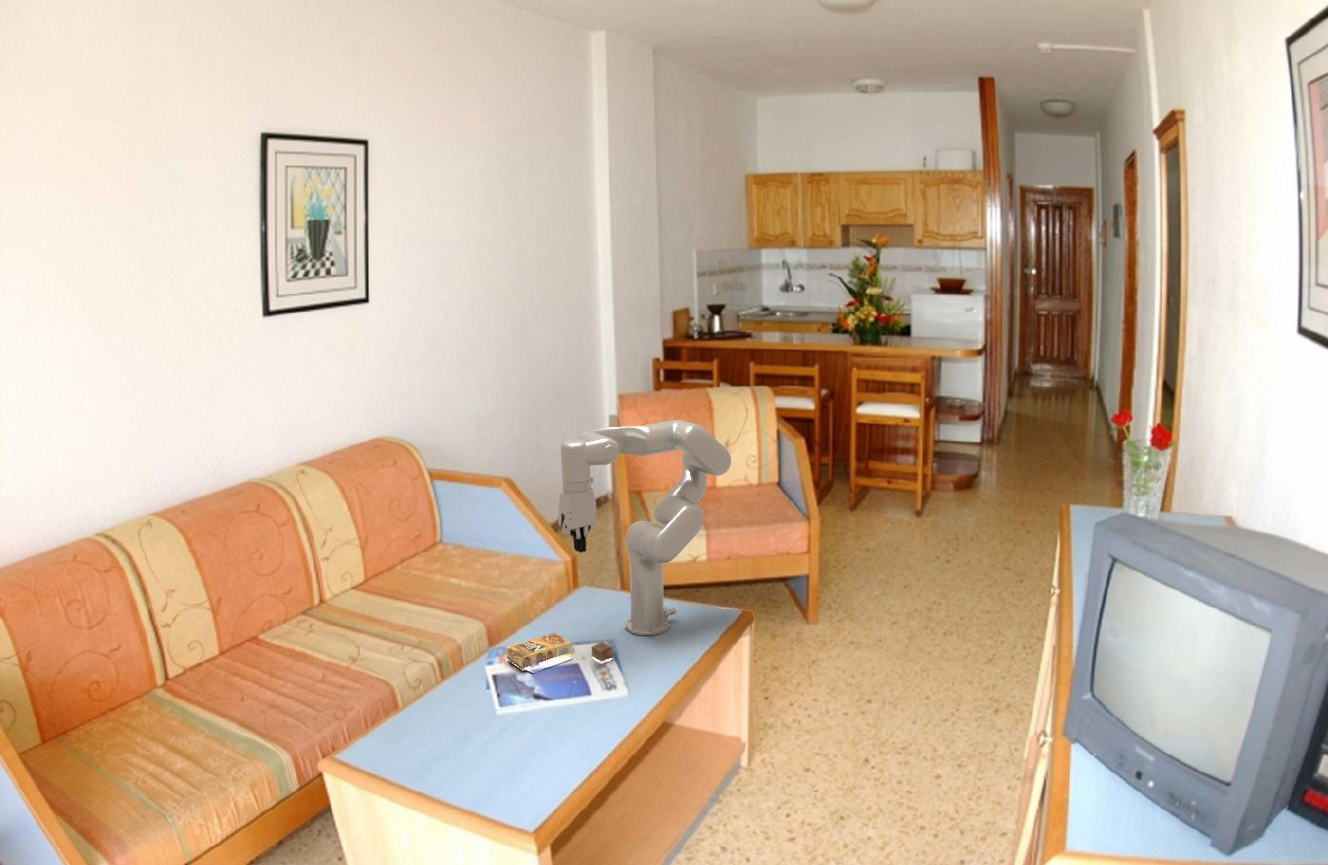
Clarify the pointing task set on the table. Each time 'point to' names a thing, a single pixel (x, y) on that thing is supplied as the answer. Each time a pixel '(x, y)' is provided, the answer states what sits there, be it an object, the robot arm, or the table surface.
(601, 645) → the tan wooden block
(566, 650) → the candy box
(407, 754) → the table surface
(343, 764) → the table surface
